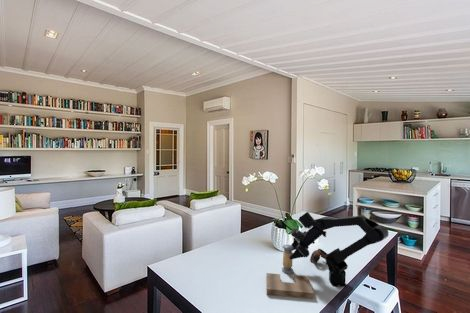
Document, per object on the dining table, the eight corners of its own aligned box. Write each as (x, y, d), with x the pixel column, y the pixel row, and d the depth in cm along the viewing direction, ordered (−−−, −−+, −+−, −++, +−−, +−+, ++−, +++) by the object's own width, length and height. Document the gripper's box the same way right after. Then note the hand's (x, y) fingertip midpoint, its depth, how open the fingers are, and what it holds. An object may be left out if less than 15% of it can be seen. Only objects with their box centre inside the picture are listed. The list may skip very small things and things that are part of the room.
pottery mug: (311, 257, 148) (319, 246, 147) (325, 269, 142) (333, 258, 141) (304, 259, 139) (312, 247, 138) (318, 272, 133) (327, 259, 132)
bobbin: (292, 268, 132) (292, 244, 132) (293, 274, 127) (294, 249, 126) (281, 268, 133) (282, 244, 133) (282, 273, 127) (283, 248, 127)
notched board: (308, 281, 120) (308, 276, 120) (313, 298, 106) (313, 293, 106) (266, 278, 122) (266, 273, 122) (266, 294, 108) (266, 289, 108)
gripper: (298, 218, 138) (277, 237, 139) (303, 229, 119) (279, 250, 121) (312, 233, 137) (291, 251, 139) (319, 247, 118) (295, 267, 120)
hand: (289, 254), depth 130 cm, fingers open, 9 cm apart
